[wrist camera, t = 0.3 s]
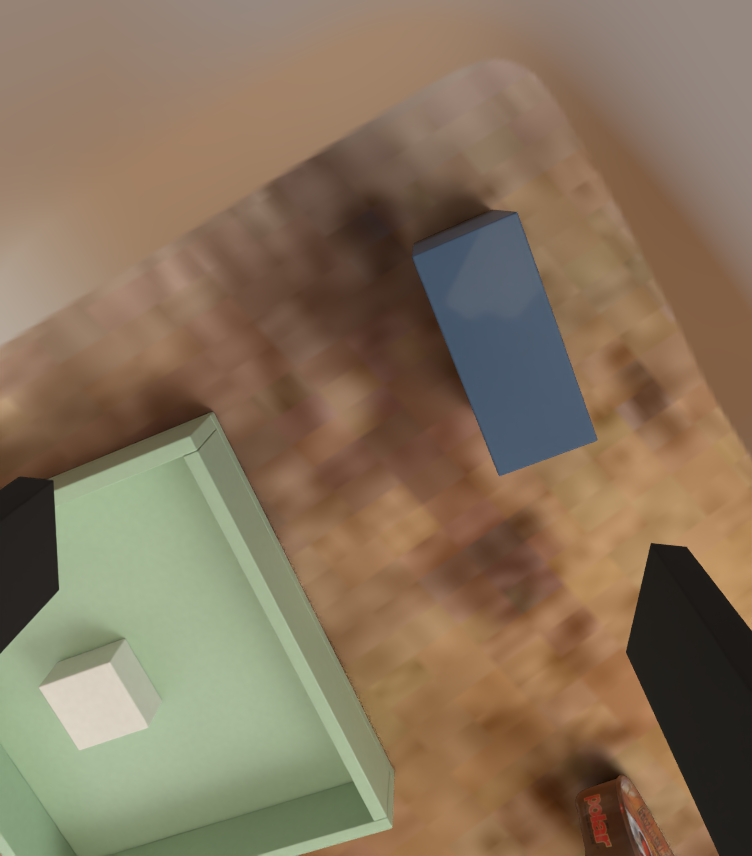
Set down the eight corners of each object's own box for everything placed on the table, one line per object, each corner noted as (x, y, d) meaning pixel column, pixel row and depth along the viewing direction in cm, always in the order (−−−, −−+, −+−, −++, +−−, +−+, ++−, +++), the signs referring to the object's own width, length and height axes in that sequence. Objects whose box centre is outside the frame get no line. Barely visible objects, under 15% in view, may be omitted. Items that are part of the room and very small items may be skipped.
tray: (-131, 551, 36) (-190, 589, 32) (213, 410, 32) (189, 435, 29) (82, 865, 41) (51, 926, 38) (395, 771, 38) (392, 828, 34)
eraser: (413, 243, 30) (411, 256, 23) (493, 209, 29) (517, 211, 22) (480, 415, 32) (499, 476, 25) (557, 386, 31) (598, 440, 24)
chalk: (57, 661, 36) (37, 687, 34) (125, 637, 36) (108, 661, 34) (95, 723, 37) (78, 751, 35) (163, 700, 37) (148, 728, 35)
